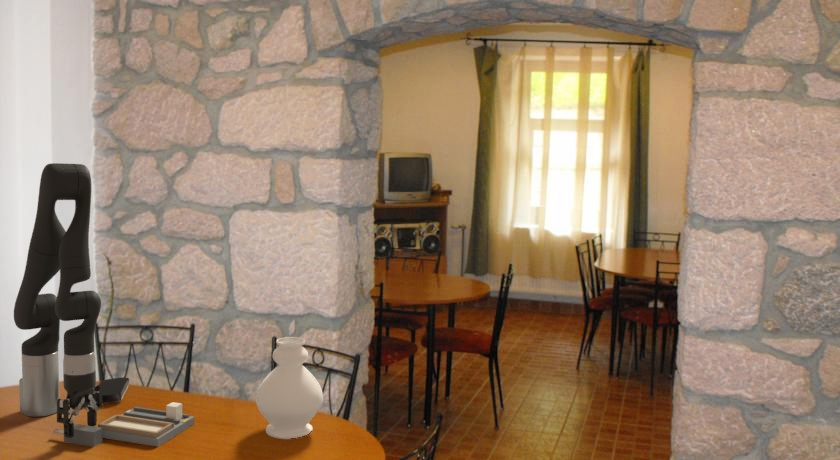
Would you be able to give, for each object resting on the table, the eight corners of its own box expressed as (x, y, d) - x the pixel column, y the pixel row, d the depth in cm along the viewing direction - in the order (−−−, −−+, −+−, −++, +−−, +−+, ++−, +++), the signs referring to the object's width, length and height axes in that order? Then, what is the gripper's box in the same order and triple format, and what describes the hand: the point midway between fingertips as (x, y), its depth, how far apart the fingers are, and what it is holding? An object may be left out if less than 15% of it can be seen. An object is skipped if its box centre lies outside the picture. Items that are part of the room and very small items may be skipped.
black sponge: (120, 406, 230) (120, 393, 230) (89, 406, 228) (89, 394, 228) (130, 388, 246) (130, 376, 246) (101, 388, 244) (101, 377, 244)
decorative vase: (288, 413, 228) (290, 328, 225) (335, 429, 218) (337, 340, 215) (241, 431, 214) (242, 340, 210) (289, 448, 203) (291, 353, 200)
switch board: (93, 436, 207) (93, 424, 206) (134, 414, 223) (134, 403, 222) (157, 446, 202) (157, 434, 201) (194, 423, 218) (194, 412, 217)
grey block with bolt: (50, 440, 203) (50, 425, 203) (59, 435, 207) (59, 421, 206) (94, 447, 200) (93, 432, 200) (102, 442, 203) (102, 427, 203)
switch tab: (166, 419, 214) (166, 405, 214) (172, 416, 217) (172, 402, 217) (176, 421, 213) (176, 407, 213) (182, 417, 216) (182, 403, 216)
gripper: (72, 379, 193) (74, 443, 195) (110, 363, 206) (111, 423, 208) (46, 375, 195) (48, 439, 197) (85, 360, 208) (87, 420, 210)
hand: (80, 431), depth 203 cm, fingers open, 8 cm apart
